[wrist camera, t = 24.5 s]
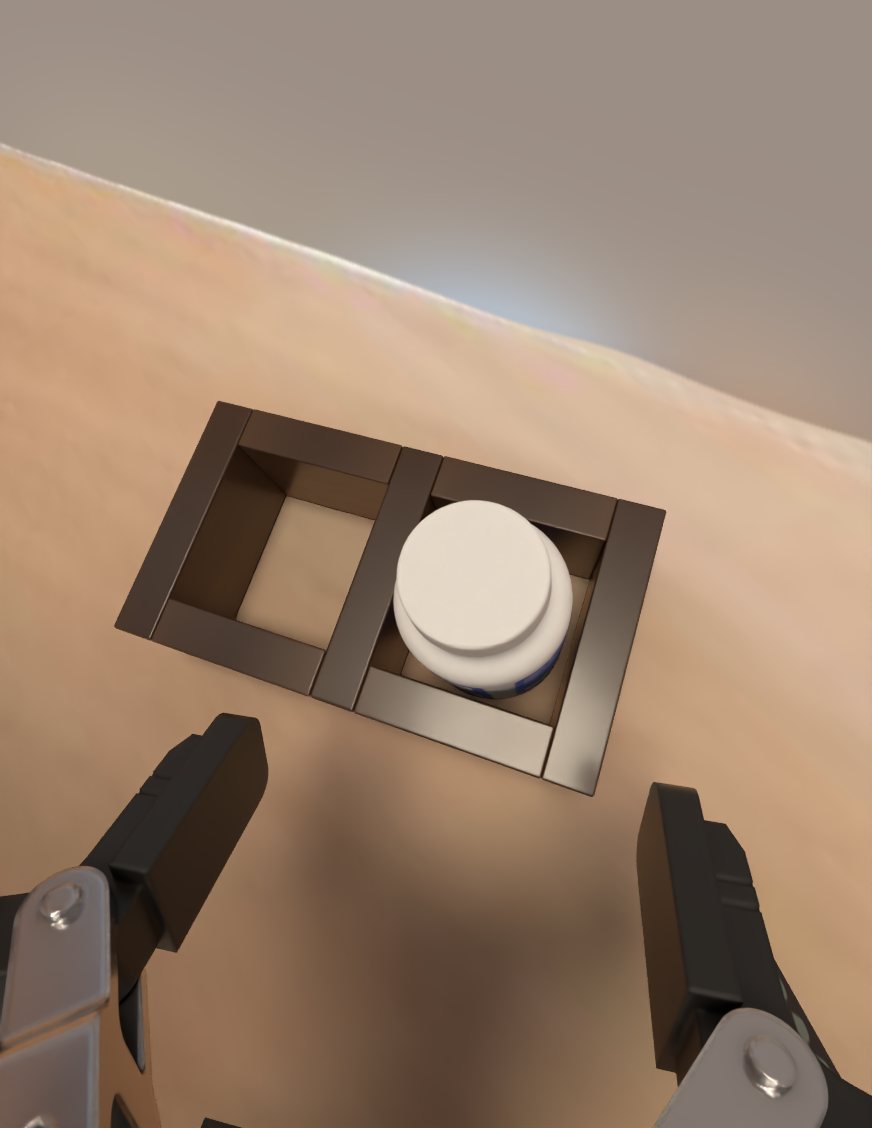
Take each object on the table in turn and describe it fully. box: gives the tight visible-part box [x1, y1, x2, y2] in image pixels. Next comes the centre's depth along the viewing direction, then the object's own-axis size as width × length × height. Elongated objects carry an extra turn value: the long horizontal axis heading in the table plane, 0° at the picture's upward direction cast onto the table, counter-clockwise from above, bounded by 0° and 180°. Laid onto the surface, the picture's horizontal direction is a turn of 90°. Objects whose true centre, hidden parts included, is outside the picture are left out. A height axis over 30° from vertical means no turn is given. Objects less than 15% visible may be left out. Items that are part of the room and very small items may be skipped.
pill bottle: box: [393, 500, 573, 699], centre depth 20 cm, size 5×5×10 cm
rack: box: [114, 401, 666, 797], centre depth 23 cm, size 17×9×5 cm, turn 71°
